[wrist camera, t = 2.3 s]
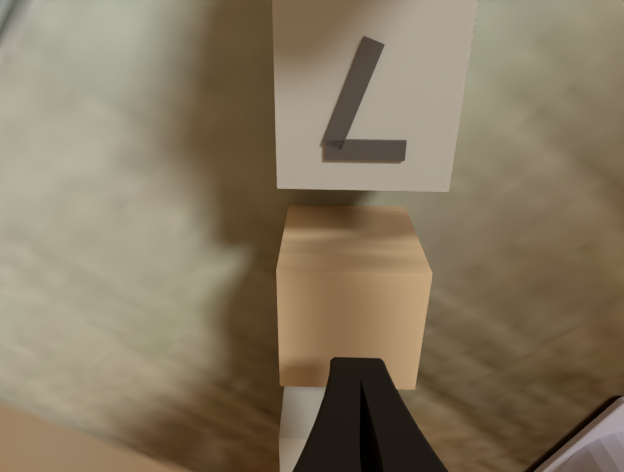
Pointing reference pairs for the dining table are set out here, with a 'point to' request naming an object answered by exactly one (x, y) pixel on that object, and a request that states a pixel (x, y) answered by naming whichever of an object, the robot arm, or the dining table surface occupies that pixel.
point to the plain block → (350, 292)
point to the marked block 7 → (369, 92)
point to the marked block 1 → (297, 422)
